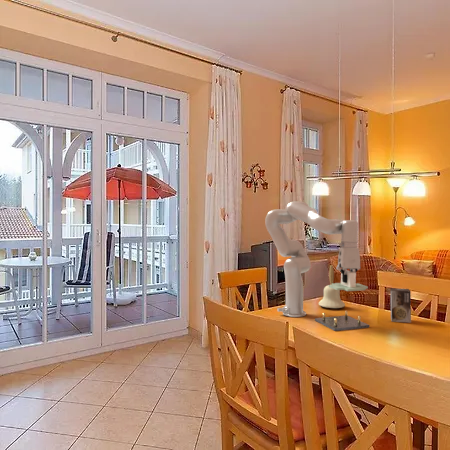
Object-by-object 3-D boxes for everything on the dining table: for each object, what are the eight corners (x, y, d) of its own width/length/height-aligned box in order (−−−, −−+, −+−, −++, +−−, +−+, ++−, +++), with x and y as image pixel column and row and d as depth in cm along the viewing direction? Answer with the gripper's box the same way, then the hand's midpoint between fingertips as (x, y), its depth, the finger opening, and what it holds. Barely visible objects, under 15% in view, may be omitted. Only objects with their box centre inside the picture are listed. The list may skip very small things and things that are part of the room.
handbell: (331, 311, 215) (331, 267, 215) (312, 306, 229) (312, 264, 228) (350, 308, 223) (350, 265, 222) (331, 303, 236) (331, 263, 235)
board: (340, 291, 180) (341, 274, 179) (325, 285, 193) (325, 269, 193) (371, 289, 184) (372, 273, 184) (354, 284, 198) (354, 268, 197)
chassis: (334, 331, 179) (334, 321, 179) (314, 320, 198) (314, 311, 198) (369, 327, 184) (369, 317, 184) (346, 317, 203) (346, 308, 203)
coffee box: (409, 319, 197) (409, 288, 197) (411, 323, 191) (411, 291, 191) (390, 318, 200) (390, 287, 200) (391, 321, 194) (391, 290, 194)
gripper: (338, 246, 182) (337, 284, 183) (368, 245, 186) (367, 283, 187) (330, 244, 189) (329, 281, 190) (358, 244, 194) (357, 280, 194)
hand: (348, 281), depth 189 cm, fingers closed on board, 3 cm apart
